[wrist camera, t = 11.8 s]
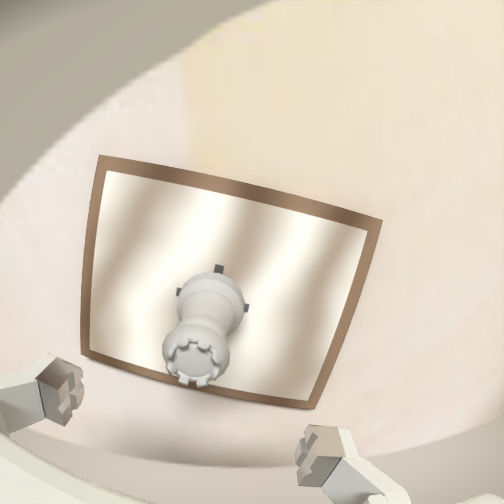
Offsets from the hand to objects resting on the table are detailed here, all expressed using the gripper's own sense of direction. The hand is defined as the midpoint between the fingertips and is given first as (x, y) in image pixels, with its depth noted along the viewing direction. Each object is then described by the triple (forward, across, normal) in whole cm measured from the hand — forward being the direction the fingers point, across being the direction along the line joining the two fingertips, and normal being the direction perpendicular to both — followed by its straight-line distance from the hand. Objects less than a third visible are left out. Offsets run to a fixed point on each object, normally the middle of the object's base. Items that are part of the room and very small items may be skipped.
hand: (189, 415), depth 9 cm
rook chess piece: (+12, +1, 0) cm, 12 cm away
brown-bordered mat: (+13, +1, 0) cm, 13 cm away
